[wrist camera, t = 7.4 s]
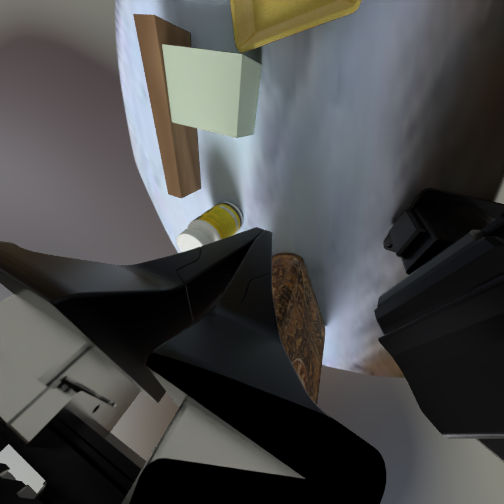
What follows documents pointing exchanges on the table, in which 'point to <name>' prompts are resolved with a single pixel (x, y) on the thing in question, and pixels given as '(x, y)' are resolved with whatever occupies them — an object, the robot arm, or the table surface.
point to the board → (168, 106)
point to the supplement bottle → (211, 226)
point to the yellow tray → (282, 18)
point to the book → (298, 319)
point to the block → (212, 89)
